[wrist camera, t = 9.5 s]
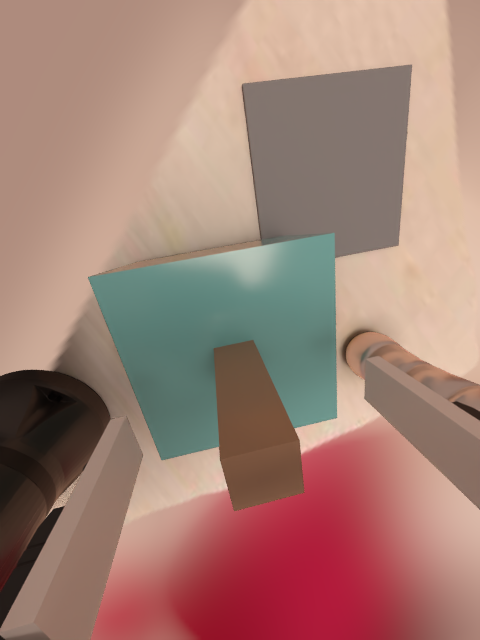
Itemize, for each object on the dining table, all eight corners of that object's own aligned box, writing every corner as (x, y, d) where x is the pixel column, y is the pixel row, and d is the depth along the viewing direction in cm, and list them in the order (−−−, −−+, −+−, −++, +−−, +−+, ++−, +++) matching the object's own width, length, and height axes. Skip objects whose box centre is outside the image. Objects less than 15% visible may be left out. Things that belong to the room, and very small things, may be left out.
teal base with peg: (177, 384, 30) (127, 628, 11) (138, 261, 24) (-99, 334, 5) (293, 358, 31) (426, 540, 12) (282, 235, 25) (498, 223, 7)
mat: (264, 270, 27) (265, 270, 26) (241, 86, 21) (242, 83, 20) (395, 245, 28) (398, 245, 28) (408, 67, 22) (412, 64, 22)
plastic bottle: (353, 376, 34) (540, 540, 15) (330, 348, 32) (515, 500, 13) (388, 348, 33) (628, 484, 14) (367, 317, 31) (618, 430, 12)
